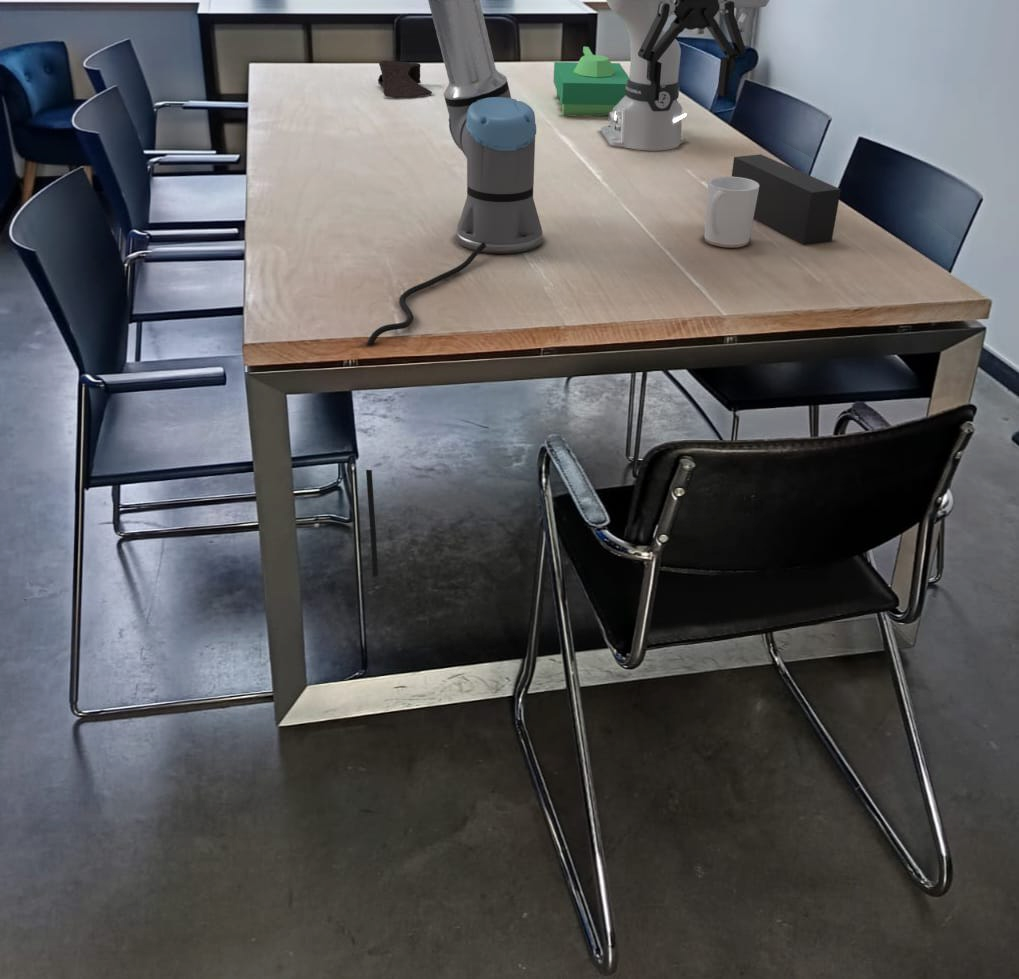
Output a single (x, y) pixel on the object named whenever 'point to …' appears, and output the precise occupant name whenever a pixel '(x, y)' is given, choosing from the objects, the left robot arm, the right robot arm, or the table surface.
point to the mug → (730, 211)
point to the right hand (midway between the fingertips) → (718, 32)
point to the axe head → (401, 79)
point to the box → (790, 199)
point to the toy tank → (589, 85)
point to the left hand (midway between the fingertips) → (688, 97)
